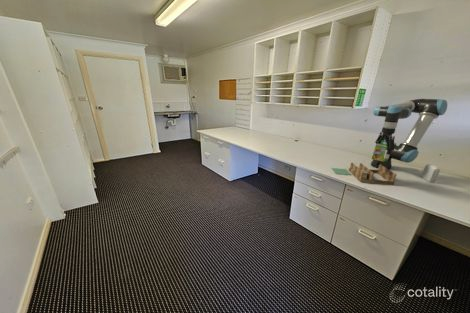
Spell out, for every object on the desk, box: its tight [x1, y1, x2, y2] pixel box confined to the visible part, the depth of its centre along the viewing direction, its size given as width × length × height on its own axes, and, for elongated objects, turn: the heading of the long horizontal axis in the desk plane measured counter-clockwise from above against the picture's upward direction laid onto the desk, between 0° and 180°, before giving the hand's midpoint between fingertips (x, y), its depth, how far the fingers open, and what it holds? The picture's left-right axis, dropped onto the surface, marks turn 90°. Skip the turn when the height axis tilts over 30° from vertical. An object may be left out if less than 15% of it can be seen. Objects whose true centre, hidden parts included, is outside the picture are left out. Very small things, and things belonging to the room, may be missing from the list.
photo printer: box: [421, 163, 441, 183], centre depth 143 cm, size 10×4×12 cm, turn 167°
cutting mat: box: [331, 167, 352, 176], centre depth 158 cm, size 12×12×1 cm
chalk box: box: [371, 140, 388, 162], centre depth 140 cm, size 9×9×15 cm
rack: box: [348, 162, 397, 186], centre depth 147 cm, size 22×23×8 cm
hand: (381, 155), depth 141 cm, fingers closed on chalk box, 12 cm apart
